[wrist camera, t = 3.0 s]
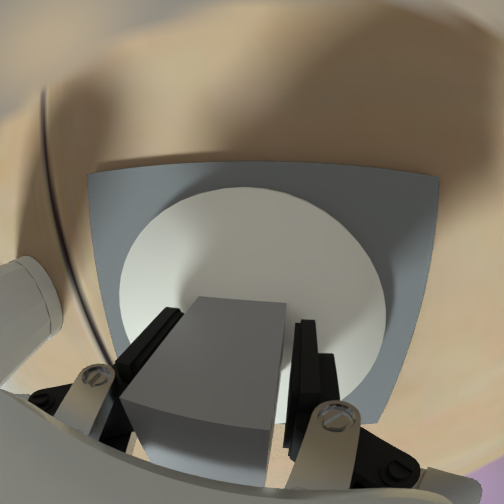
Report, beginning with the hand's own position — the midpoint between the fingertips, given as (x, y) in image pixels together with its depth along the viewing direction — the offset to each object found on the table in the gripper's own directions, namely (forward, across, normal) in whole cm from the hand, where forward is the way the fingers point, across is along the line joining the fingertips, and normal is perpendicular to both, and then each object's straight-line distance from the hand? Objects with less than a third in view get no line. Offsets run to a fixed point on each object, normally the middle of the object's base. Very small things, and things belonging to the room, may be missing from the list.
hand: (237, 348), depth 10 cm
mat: (+2, 0, 0) cm, 2 cm away
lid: (+2, 0, 0) cm, 2 cm away
